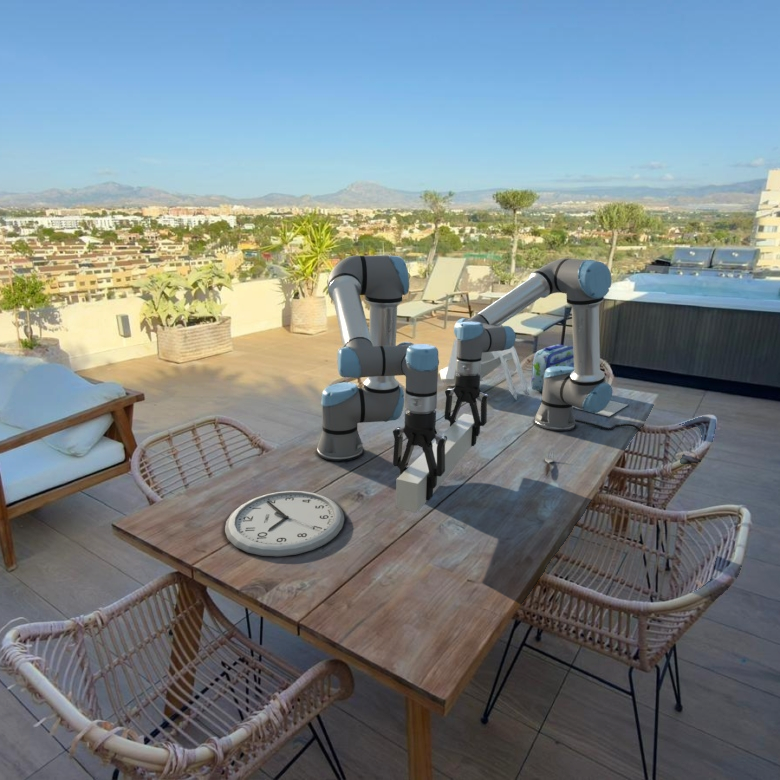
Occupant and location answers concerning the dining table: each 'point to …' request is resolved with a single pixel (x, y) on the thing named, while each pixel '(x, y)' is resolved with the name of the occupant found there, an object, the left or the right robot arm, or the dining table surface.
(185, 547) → the dining table surface
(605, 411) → the invitation card
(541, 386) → the lunch box
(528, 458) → the dining table surface
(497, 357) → the white plastic object
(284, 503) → the wall clock
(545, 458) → the fork
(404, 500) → the beam
